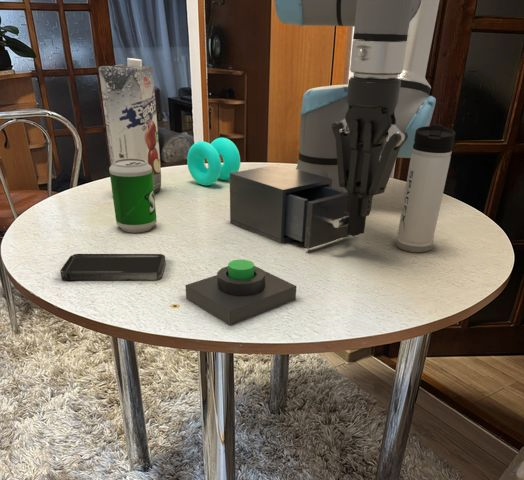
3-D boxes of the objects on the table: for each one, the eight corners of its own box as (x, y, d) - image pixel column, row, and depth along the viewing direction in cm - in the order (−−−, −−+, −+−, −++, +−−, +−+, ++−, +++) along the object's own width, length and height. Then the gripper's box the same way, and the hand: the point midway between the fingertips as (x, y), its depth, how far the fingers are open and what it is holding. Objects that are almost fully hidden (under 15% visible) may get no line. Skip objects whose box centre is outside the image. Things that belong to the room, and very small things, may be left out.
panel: (250, 277, 79) (250, 252, 77) (295, 300, 73) (297, 274, 71) (186, 299, 72) (184, 273, 70) (230, 326, 66) (229, 298, 64)
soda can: (148, 235, 94) (141, 168, 87) (109, 231, 95) (100, 164, 88) (162, 222, 100) (157, 158, 94) (126, 219, 101) (119, 156, 95)
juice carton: (110, 198, 113) (91, 58, 99) (131, 186, 122) (116, 56, 107) (147, 201, 112) (133, 60, 97) (166, 189, 120) (156, 57, 106)
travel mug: (432, 242, 94) (457, 125, 84) (430, 255, 89) (456, 132, 78) (397, 238, 96) (418, 122, 85) (393, 249, 91) (414, 128, 80)
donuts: (242, 182, 128) (242, 139, 122) (215, 190, 121) (214, 145, 116) (213, 175, 133) (212, 134, 127) (185, 182, 126) (183, 139, 121)
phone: (71, 253, 82) (165, 253, 83) (73, 260, 83) (166, 260, 84) (58, 273, 76) (160, 273, 76) (59, 280, 76) (161, 280, 77)
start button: (242, 268, 73) (243, 257, 72) (259, 277, 71) (259, 265, 70) (222, 275, 71) (222, 263, 70) (239, 283, 69) (239, 271, 68)
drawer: (370, 241, 92) (376, 197, 87) (327, 256, 85) (331, 209, 81) (300, 216, 103) (302, 176, 98) (257, 228, 96) (258, 185, 92)
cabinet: (327, 229, 99) (332, 179, 94) (280, 243, 92) (283, 189, 87) (276, 211, 108) (278, 164, 103) (230, 222, 101) (229, 173, 96)
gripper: (324, 73, 76) (312, 227, 88) (397, 80, 68) (372, 249, 80) (356, 71, 80) (340, 219, 93) (428, 78, 72) (400, 239, 85)
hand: (355, 233), depth 86 cm, fingers closed
